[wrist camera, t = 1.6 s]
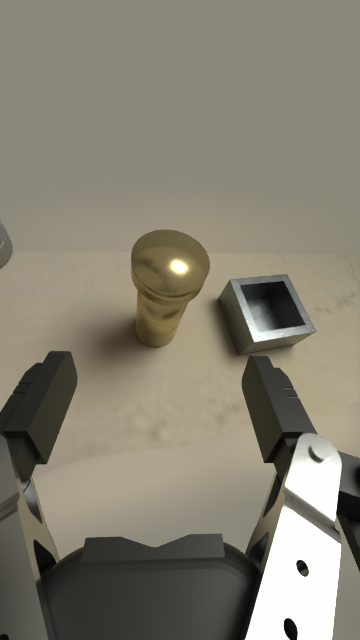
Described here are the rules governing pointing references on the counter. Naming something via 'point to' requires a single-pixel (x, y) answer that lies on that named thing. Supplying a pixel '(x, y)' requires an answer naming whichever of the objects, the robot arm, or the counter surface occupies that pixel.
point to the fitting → (165, 282)
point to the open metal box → (264, 313)
